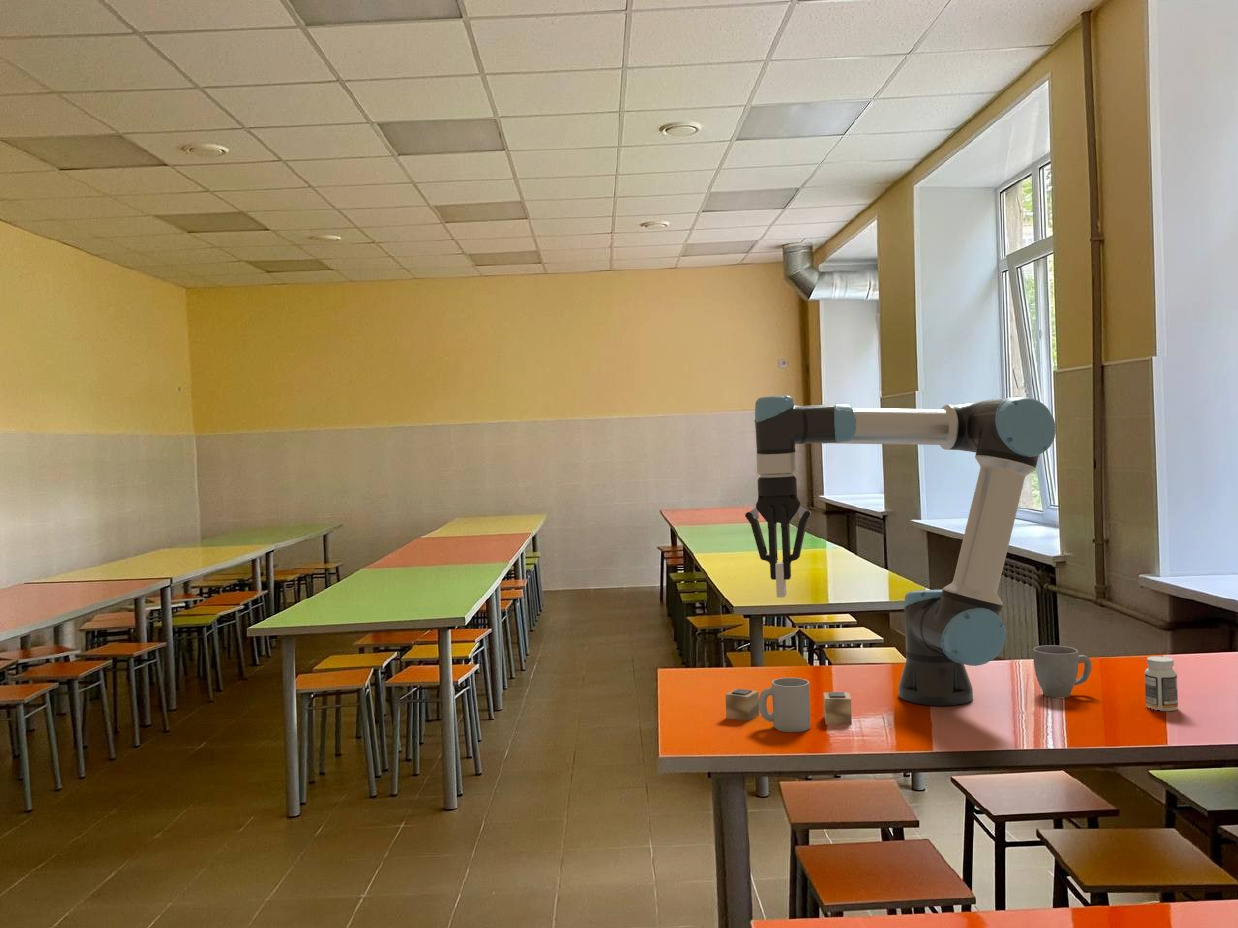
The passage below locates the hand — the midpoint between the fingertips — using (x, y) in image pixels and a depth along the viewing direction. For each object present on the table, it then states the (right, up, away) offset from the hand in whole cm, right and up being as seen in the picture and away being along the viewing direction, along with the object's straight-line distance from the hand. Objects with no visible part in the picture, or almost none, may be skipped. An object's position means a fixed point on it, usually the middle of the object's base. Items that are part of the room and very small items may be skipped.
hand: (781, 596), depth 193 cm
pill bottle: (+77, -23, +4) cm, 80 cm away
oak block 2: (+12, -25, +4) cm, 28 cm away
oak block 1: (-6, -26, +9) cm, 28 cm away
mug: (+63, -23, +17) cm, 69 cm away
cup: (+1, -26, +1) cm, 26 cm away
